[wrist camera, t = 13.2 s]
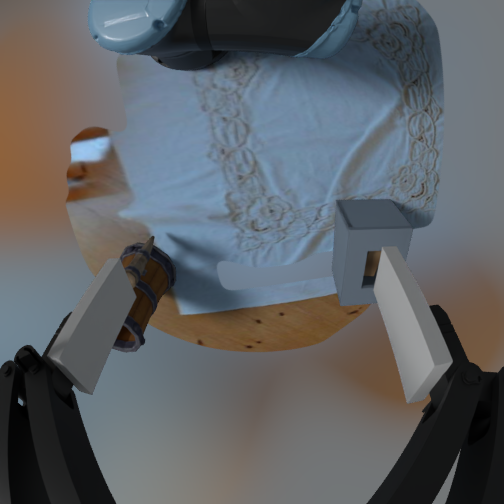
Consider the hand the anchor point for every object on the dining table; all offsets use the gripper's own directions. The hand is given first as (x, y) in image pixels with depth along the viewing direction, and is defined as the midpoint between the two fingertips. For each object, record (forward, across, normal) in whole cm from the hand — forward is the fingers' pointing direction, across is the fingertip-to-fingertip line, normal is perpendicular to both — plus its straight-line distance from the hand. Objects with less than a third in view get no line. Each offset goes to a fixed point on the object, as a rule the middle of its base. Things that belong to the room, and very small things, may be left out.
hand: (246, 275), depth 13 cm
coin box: (+37, +18, -21) cm, 46 cm away
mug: (+37, -28, -25) cm, 53 cm away
